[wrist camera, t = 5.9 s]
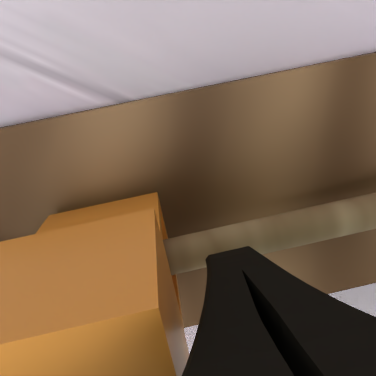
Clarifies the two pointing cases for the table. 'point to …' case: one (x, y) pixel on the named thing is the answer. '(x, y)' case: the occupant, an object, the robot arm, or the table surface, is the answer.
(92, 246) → the orange notched block
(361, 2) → the table surface
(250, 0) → the table surface
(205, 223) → the cord rig
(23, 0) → the table surface
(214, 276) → the robot arm
